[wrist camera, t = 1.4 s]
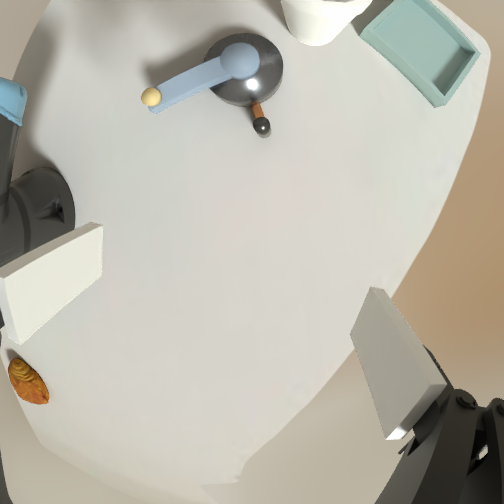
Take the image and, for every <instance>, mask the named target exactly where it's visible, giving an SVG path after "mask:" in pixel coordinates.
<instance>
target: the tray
mask: <svg viewBox="0 0 504 504" xmlns="http://www.w3.org/2000/svg"><path fill="white" fill-rule="evenodd" d="M359 37H360V38H362V39H363V40H364V41H365V42H367V43H368V44H369V45H370V46H372V47H373V48H374V49H375V50H376V51H378V52H379V53H380V54H381V55H382V56H384V57H385V58H386V59H387V60H388V61H389V62H390V63H391V64H392V65H394V66H395V67H396V68H397V69H398V70H399V71H400V72H401V73H402V74H403V75H404V76H405V77H406V78H407V79H408V80H409V81H410V82H411V83H412V84H413V85H414V86H415V87H416V88H417V89H418V90H419V91H420V92H421V93H422V94H423V95H424V96H425V97H426V99H427V100H428V101H429V102H430V103H431V104H432V105H433V106H434V108H435V107H439V106H443V105H446V104H447V103H448V101H449V100H450V99H451V97H452V96H453V94H454V93H455V91H456V90H457V89H458V87H459V86H460V84H461V83H462V81H463V80H464V79H465V77H466V76H467V74H468V73H469V71H470V70H471V68H472V67H473V65H474V64H475V62H476V61H477V59H478V57H479V56H480V54H481V53H480V52H479V51H478V50H477V49H476V47H475V46H474V45H473V44H472V43H471V42H470V40H469V39H468V38H467V37H466V36H465V35H464V34H463V33H462V32H461V31H460V29H459V28H458V27H457V26H456V25H455V24H454V23H453V22H452V21H451V20H450V19H449V18H448V17H447V16H446V15H445V14H444V13H442V12H441V11H440V10H439V9H438V8H437V7H436V6H435V5H434V4H433V3H432V2H430V1H429V0H394V1H393V2H392V3H391V4H390V5H389V6H388V7H387V8H385V9H384V10H383V11H382V12H381V13H380V14H379V15H378V16H377V17H376V18H375V19H374V20H372V21H371V22H370V23H369V24H368V25H367V26H366V27H365V28H364V30H363V31H362V33H361V34H360V35H359Z"/></svg>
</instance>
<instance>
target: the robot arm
mask: <svg viewBox="0 0 504 504" xmlns="http://www.w3.org/2000/svg"><path fill="white" fill-rule="evenodd" d="M26 102H27V91H26V89H25V87H24V86H23V85H21V84H19V83H17V82H14V81H11V80H8V79H5V78H1V77H0V328H2V327H3V326H4V325H5V328H6V332H7V335H8V338H9V339H11V340H12V341H14V342H15V343H17V344H18V345H20V346H21V345H22V344H23V343H24V342H25V341H26V340H27V339H28V338H29V337H30V336H32V335H33V334H34V333H35V332H36V331H37V330H38V329H39V328H40V327H41V326H43V325H44V324H45V323H46V322H47V321H48V320H49V319H50V318H52V317H53V316H54V315H55V314H56V313H57V312H58V311H60V310H61V309H62V308H63V307H64V306H65V305H67V304H68V303H69V302H70V301H71V300H73V299H74V298H75V297H76V296H77V295H79V294H80V293H81V292H82V291H83V290H85V289H86V288H87V287H88V286H90V285H91V284H92V283H93V282H95V281H96V280H97V279H98V278H100V277H101V276H102V237H103V225H101V224H97V223H92V222H90V223H88V224H86V225H84V226H82V227H79V228H77V229H75V230H74V227H75V209H74V203H73V199H72V195H71V192H70V190H69V188H68V186H67V184H66V182H65V180H64V179H63V178H62V176H61V175H60V174H59V173H58V172H56V171H55V170H53V169H51V168H47V167H42V168H35V169H32V170H29V171H27V172H26V173H24V174H23V175H22V176H21V177H20V178H18V179H16V180H14V181H13V182H11V175H12V168H13V162H14V156H15V151H16V146H17V141H18V136H19V132H20V128H21V127H22V125H23V122H22V119H23V115H24V110H25V106H26ZM350 336H351V338H352V341H353V344H354V346H355V349H356V352H357V354H358V357H359V360H360V363H361V366H362V369H363V371H364V374H365V377H366V380H367V383H368V386H369V389H370V392H371V395H372V398H373V401H374V404H375V407H376V410H377V413H378V417H379V420H380V423H381V426H382V430H383V433H384V436H385V439H386V440H390V439H402V438H404V437H405V435H406V434H407V433H408V432H409V431H410V430H411V429H412V428H413V431H414V433H415V436H414V437H413V438H412V439H411V440H410V441H409V442H408V443H407V444H406V445H405V446H404V447H403V448H402V449H401V450H400V451H399V452H398V454H401V453H402V452H403V451H405V452H404V454H403V456H402V458H401V460H400V462H399V463H398V465H397V467H396V469H395V471H394V473H393V474H392V476H391V478H390V480H389V481H388V483H387V485H386V487H385V488H384V490H383V491H382V493H381V494H380V496H379V498H378V499H377V501H376V502H375V504H504V400H502V399H500V398H495V399H493V400H492V401H491V402H490V404H489V405H488V406H487V407H486V408H485V407H480V406H478V404H477V402H476V400H475V399H474V397H473V396H472V395H470V394H469V393H468V392H466V391H464V390H462V389H455V390H454V388H453V386H452V385H451V383H450V381H449V380H448V378H447V376H446V375H445V373H444V372H443V370H442V369H440V365H439V364H438V362H436V359H435V358H434V356H433V354H432V353H431V352H430V351H429V350H428V349H427V348H426V347H425V346H424V345H423V344H422V343H421V342H420V341H419V339H418V337H417V336H416V334H415V333H414V331H413V330H412V329H411V327H410V326H409V324H408V323H407V321H406V320H405V318H404V317H403V316H402V314H401V313H400V311H399V310H398V309H397V307H396V306H395V304H394V303H393V302H392V300H391V299H390V297H389V296H388V295H387V293H386V292H385V291H384V290H383V289H379V288H374V287H370V288H369V291H368V293H367V296H366V298H365V301H364V303H363V306H362V308H361V310H360V313H359V315H358V317H357V319H356V322H355V324H354V326H353V328H352V331H351V333H350ZM1 338H2V337H1V332H0V346H1ZM486 447H488V453H487V454H486V455H485V456H484V457H483V458H482V459H479V454H480V453H481V452H482V451H483V450H484V449H485V448H486ZM0 504H13V503H12V501H11V499H10V497H9V495H8V491H7V487H6V482H5V477H4V472H3V466H2V460H1V452H0Z"/></svg>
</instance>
